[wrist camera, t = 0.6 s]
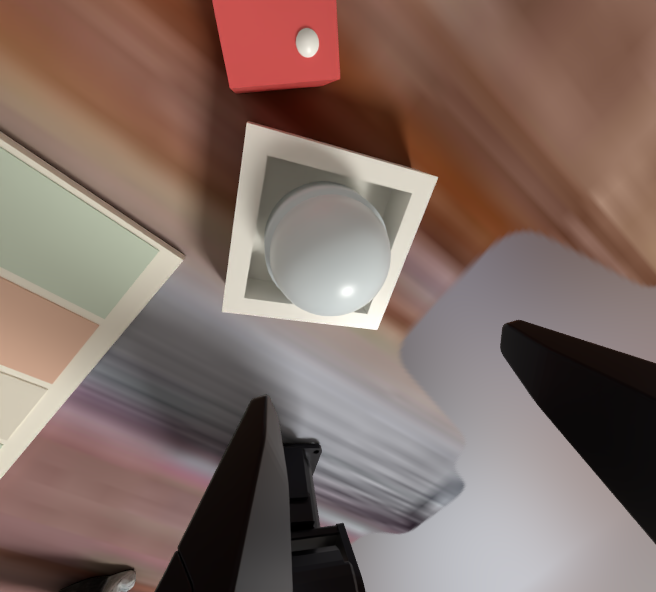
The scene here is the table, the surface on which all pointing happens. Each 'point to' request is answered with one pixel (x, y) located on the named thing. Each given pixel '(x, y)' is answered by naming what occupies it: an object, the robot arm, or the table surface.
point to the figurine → (105, 583)
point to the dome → (327, 248)
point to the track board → (62, 289)
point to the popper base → (296, 170)
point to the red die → (278, 43)
